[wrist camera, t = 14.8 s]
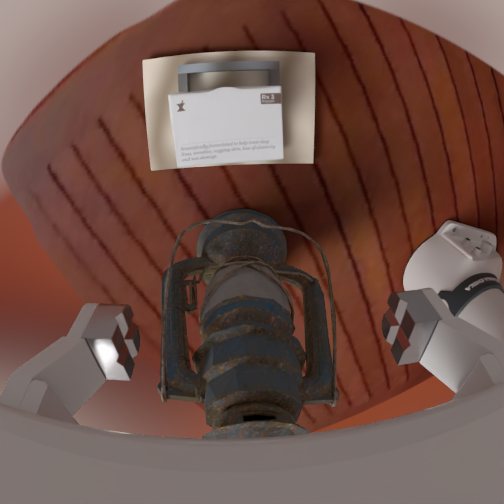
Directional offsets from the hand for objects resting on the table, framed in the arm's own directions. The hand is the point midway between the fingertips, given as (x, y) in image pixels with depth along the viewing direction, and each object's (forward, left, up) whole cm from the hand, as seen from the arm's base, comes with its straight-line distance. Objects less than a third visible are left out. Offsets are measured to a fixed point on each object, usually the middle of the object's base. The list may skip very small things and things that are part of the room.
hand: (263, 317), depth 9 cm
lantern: (0, +15, -32) cm, 35 cm away
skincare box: (+1, -4, -30) cm, 30 cm away
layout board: (+1, -4, -31) cm, 32 cm away
